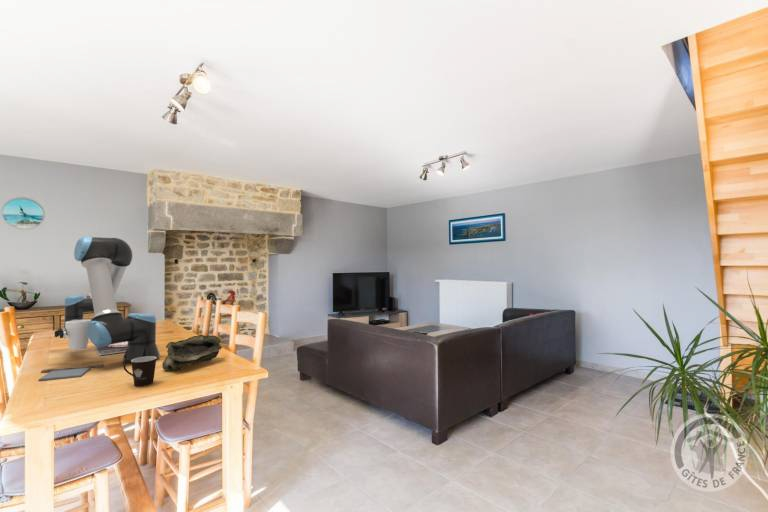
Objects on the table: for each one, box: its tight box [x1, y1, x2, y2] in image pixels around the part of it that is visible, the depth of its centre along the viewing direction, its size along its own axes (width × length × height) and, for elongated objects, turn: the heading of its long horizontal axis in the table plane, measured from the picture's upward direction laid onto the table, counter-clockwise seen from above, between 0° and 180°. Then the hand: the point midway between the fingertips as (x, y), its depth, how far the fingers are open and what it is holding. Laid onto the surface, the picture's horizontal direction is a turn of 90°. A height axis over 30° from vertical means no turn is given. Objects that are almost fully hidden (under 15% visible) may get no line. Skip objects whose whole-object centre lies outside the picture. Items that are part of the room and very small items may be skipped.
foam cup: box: [64, 319, 92, 351], centre depth 172 cm, size 10×9×13 cm
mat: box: [38, 367, 92, 382], centre depth 158 cm, size 14×12×1 cm
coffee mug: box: [123, 356, 157, 388], centre depth 148 cm, size 12×9×10 cm
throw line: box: [40, 363, 104, 374], centre depth 166 cm, size 22×2×1 cm, turn 113°
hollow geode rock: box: [161, 334, 223, 372], centre depth 175 cm, size 28×13×15 cm
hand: (79, 333), depth 169 cm, fingers closed on foam cup, 9 cm apart
